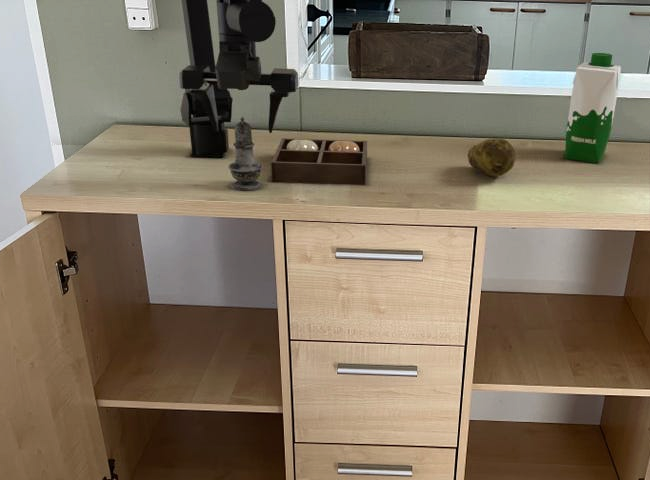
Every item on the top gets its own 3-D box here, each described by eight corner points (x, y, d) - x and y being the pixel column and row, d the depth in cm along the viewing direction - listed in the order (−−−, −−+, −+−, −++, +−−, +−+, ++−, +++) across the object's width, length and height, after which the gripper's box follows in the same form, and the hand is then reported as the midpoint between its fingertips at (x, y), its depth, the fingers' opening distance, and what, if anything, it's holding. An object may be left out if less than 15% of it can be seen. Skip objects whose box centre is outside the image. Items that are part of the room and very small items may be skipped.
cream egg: (284, 165, 146) (284, 142, 144) (287, 159, 150) (286, 136, 148) (318, 166, 147) (317, 143, 144) (319, 160, 150) (319, 137, 148)
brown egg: (327, 166, 147) (326, 143, 144) (328, 160, 150) (328, 137, 148) (360, 167, 147) (360, 145, 145) (360, 161, 151) (360, 139, 148)
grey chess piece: (267, 182, 137) (263, 114, 131) (258, 192, 132) (254, 122, 126) (235, 179, 137) (230, 112, 131) (225, 190, 132) (219, 119, 126)
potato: (507, 168, 150) (512, 127, 146) (514, 188, 139) (519, 144, 135) (465, 166, 150) (469, 125, 146) (469, 186, 139) (473, 142, 135)
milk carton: (608, 154, 162) (626, 55, 152) (601, 165, 154) (619, 61, 144) (567, 149, 164) (582, 50, 154) (559, 159, 157) (574, 56, 147)
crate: (272, 181, 137) (271, 162, 136) (282, 155, 152) (281, 138, 150) (365, 184, 138) (365, 165, 136) (366, 158, 153) (367, 140, 151)
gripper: (165, 38, 115) (177, 142, 122) (290, 42, 115) (293, 145, 123) (182, 28, 124) (192, 125, 132) (297, 32, 125) (300, 129, 133)
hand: (243, 131), depth 130 cm, fingers open, 9 cm apart
